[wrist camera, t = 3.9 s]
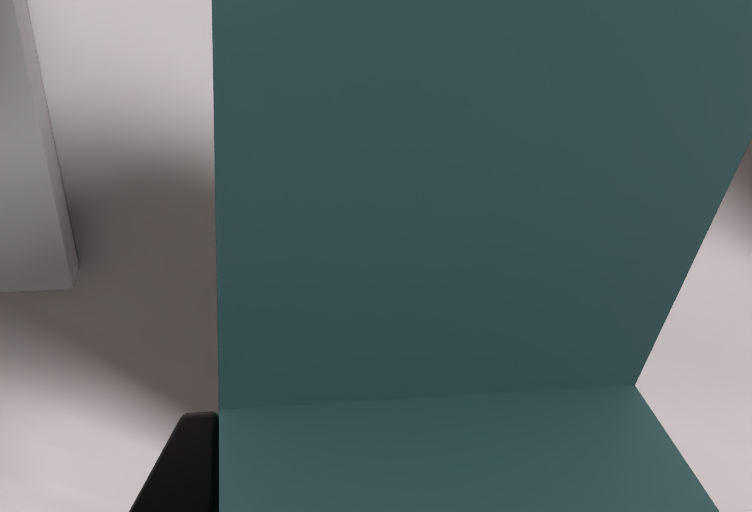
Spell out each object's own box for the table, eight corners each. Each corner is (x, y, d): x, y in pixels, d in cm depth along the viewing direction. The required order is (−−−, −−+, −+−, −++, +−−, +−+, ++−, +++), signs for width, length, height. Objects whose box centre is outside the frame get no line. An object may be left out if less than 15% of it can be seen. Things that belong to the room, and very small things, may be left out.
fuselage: (453, 521, 12) (537, 792, 9) (222, 544, 11) (225, 855, 8) (736, -393, 5) (1516, -628, 2) (208, -516, 4) (183, -1238, 1)
